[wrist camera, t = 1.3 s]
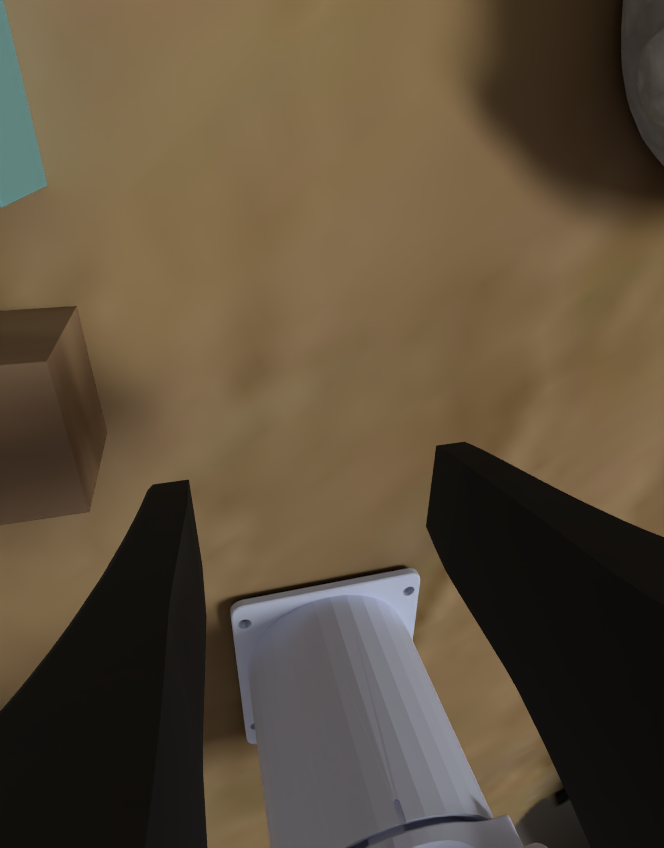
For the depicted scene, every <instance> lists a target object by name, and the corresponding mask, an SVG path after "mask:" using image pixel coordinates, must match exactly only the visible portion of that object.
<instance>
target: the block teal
mask: <svg viewBox="0 0 664 848" xmlns="http://www.w3.org/2000/svg"><path fill="white" fill-rule="evenodd" d="M45 186H47V182H46V177H45V173H44V169H43V165H42V161H41V156H40V152H39V148H38V144H37V140H36V135H35V131H34V127H33V123H32V119H31V114H30V110H29V106H28V102H27V98H26V93H25V89H24V85H23V81H22V77H21V72H20V68H19V64H18V60H17V56H16V52H15V47H14V43H13V39H12V35H11V31H10V26H9V22H8V18H7V14H6V10H5V5H4V1H3V0H0V207H4V206H6V205H8V204H10V203H12V202H15V201H17V200H19V199H21V198H23V197H25V196H27V195H29V194H31V193H33V192H35V191H37V190H39V189H41V188H43V187H45Z"/></svg>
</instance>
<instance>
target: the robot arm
mask: <svg viewBox="0 0 664 848" xmlns="http://www.w3.org/2000/svg"><path fill="white" fill-rule="evenodd" d="M426 527H427V530H428V532H429V534H430V537H431V539H432V541H433V544H434V546H435V548H436V551H437V553H438V555H439V557H440V559H441V562H442V564H443V566H444V568H445V570H446V572H447V574H448V575H449V577H450V579H451V580H452V582H453V584H454V585H455V587H456V589H457V590H458V592H459V594H460V595H461V597H462V599H463V600H464V602H465V604H466V605H467V607H468V608H469V610H470V612H471V613H472V615H473V617H474V618H475V620H476V621H477V623H478V625H479V626H480V628H481V629H482V631H483V633H484V634H485V636H486V638H487V639H488V641H489V642H490V644H491V646H492V647H493V649H494V651H495V652H496V654H497V655H498V657H499V659H500V660H501V662H502V663H503V665H504V667H505V668H506V670H507V672H508V674H509V675H510V677H511V679H512V681H513V683H514V684H515V686H516V688H517V690H518V691H519V693H520V695H521V698H522V700H523V702H524V704H525V706H526V708H527V710H528V712H529V714H530V716H531V718H532V720H533V722H534V724H535V726H536V728H537V730H538V732H539V734H540V736H541V738H542V740H543V742H544V744H545V747H546V749H547V751H548V753H549V755H550V757H551V760H552V762H553V764H554V766H555V768H556V770H557V773H558V775H559V777H560V779H561V781H562V783H563V786H564V788H565V790H566V792H567V794H568V796H569V799H570V801H571V803H572V805H573V808H574V810H575V812H576V815H577V817H578V819H579V822H580V824H581V826H582V829H583V831H584V833H585V836H586V838H587V840H588V843H589V845H590V847H591V848H664V537H662V536H659V535H656V534H654V533H651V532H649V531H646V530H644V529H642V528H639V527H637V526H635V525H632V524H630V523H628V522H625V521H623V520H621V519H619V518H617V517H614V516H612V515H610V514H608V513H606V512H604V511H601V510H599V509H597V508H595V507H593V506H591V505H588V504H586V503H584V502H582V501H580V500H578V499H576V498H574V497H572V496H570V495H568V494H566V493H564V492H562V491H560V490H558V489H556V488H554V487H553V486H551V485H549V484H547V483H545V482H543V481H541V480H539V479H537V478H535V477H533V476H531V475H530V474H528V473H526V472H524V471H522V470H520V469H518V468H516V467H514V466H513V465H511V464H509V463H507V462H505V461H503V460H501V459H499V458H497V457H495V456H494V455H492V454H490V453H488V452H486V451H484V450H482V449H480V448H477V447H475V446H473V445H471V444H469V443H466V442H460V443H453V444H445V445H438V446H436V452H435V460H434V468H433V476H432V484H431V492H430V499H429V507H428V515H427V523H426ZM419 585H420V576H419V574H418V573H417V571H416V570H415V569H413V568H406V569H401V570H396V571H391V572H385V573H380V574H375V575H370V576H365V577H359V578H354V579H349V580H344V581H338V582H333V583H328V584H323V585H317V586H312V587H307V588H302V589H296V590H291V591H286V592H281V593H276V594H270V595H265V596H260V597H255V598H249V599H244V600H240V601H237V602H236V603H234V604H233V605H232V607H231V609H230V614H231V622H232V630H233V637H234V645H235V653H236V661H237V668H238V676H239V684H240V692H241V700H242V707H243V715H244V723H245V731H246V738H247V741H248V742H249V743H251V744H257V748H258V755H259V763H260V771H261V778H262V786H263V794H264V801H265V809H266V817H267V824H268V832H269V840H270V847H271V848H547V847H546V846H544V845H542V844H539V843H533V844H530V845H528V846H525V847H524V846H523V844H522V842H521V840H520V838H519V836H518V834H517V832H516V829H515V827H514V825H513V823H512V821H511V819H510V817H509V816H508V815H502V816H499V817H496V818H493V816H492V813H491V811H490V809H489V807H488V805H487V803H486V800H485V798H484V796H483V794H482V792H481V789H480V787H479V785H478V783H477V781H476V778H475V776H474V774H473V772H472V770H471V768H470V765H469V763H468V761H467V759H466V757H465V754H464V752H463V750H462V748H461V746H460V744H459V741H458V739H457V737H456V735H455V733H454V730H453V728H452V726H451V724H450V722H449V719H448V717H447V715H446V713H445V711H444V709H443V706H442V704H441V702H440V700H439V698H438V695H437V693H436V691H435V689H434V687H433V684H432V682H431V680H430V678H429V676H428V674H427V671H426V669H425V667H424V665H423V663H422V660H421V658H420V656H419V654H418V652H417V649H416V647H415V645H414V643H413V641H412V640H413V633H414V625H415V617H416V609H417V601H418V593H419ZM407 587H408V588H407ZM242 620H245V621H242ZM205 647H206V606H205V593H204V581H203V569H202V561H201V554H200V548H199V542H198V535H197V529H196V523H195V516H194V510H193V504H192V497H191V491H190V484H189V480H183V481H176V482H168V483H161V484H154V485H152V486H151V487H150V488H149V490H148V491H147V493H146V495H145V498H144V500H143V502H142V504H141V506H140V509H139V511H138V513H137V515H136V517H135V519H134V521H133V523H132V524H131V526H130V528H129V530H128V532H127V534H126V536H125V538H124V539H123V541H122V543H121V545H120V546H119V548H118V550H117V551H116V553H115V555H114V557H113V558H112V560H111V562H110V563H109V565H108V567H107V569H106V570H105V572H104V574H103V575H102V577H101V578H100V580H99V581H98V583H97V584H96V586H95V587H94V589H93V590H92V592H91V593H90V595H89V596H88V598H87V599H86V601H85V602H84V604H83V605H82V607H81V608H80V610H79V611H78V613H77V614H76V616H75V617H74V619H73V620H72V622H71V623H70V624H69V626H68V627H67V629H66V630H65V631H64V633H63V634H62V635H61V637H60V638H59V640H58V641H57V642H56V644H55V645H54V646H53V647H52V649H51V650H50V651H49V653H48V654H47V655H46V657H45V658H44V659H43V660H42V662H41V663H40V664H39V665H38V667H37V668H36V669H35V671H34V672H33V673H32V674H31V676H30V677H29V678H28V679H27V681H26V682H25V683H24V684H23V685H22V687H21V688H20V689H19V690H18V691H17V692H16V694H15V695H14V696H13V697H12V698H11V699H10V701H9V702H8V703H7V704H6V705H5V706H4V708H3V709H2V710H1V711H0V848H207V834H206V817H205V799H204V782H203V716H204V682H205Z"/></svg>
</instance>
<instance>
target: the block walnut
mask: <svg viewBox="0 0 664 848" xmlns="http://www.w3.org/2000/svg"><path fill="white" fill-rule="evenodd" d="M106 435H107V431H106V427H105V423H104V419H103V415H102V410H101V406H100V402H99V398H98V394H97V390H96V385H95V381H94V377H93V373H92V369H91V365H90V360H89V356H88V352H87V348H86V344H85V340H84V335H83V331H82V327H81V323H80V319H79V315H78V310H77V306H74V307H58V308H42V309H26V310H10V311H0V525H3V524H10V523H17V522H24V521H31V520H38V519H45V518H51V517H58V516H65V515H72V514H79V513H86V512H89V511H90V507H91V502H92V498H93V493H94V489H95V484H96V480H97V475H98V471H99V466H100V462H101V457H102V453H103V448H104V444H105V439H106Z"/></svg>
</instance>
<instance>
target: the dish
mask: <svg viewBox="0 0 664 848" xmlns="http://www.w3.org/2000/svg"><path fill="white" fill-rule="evenodd" d="M621 60H622V72H623V78H624V85H625V91H626V97H627V100H628V103H629V107H630V110H631V113H632V115H633V118H634V120H635V123H636V125H637V127H638V130H639V132H640V134H641V137H642V139H643V140H644V142H645V143H646V145H647V146H648V147H649V149H650V150H651V151H652V153H653V154H654V156H655V157H656V158H657V159H658V160H659V161H660V162H661V163H662V165H663V166H664V0H623V9H622V26H621Z"/></svg>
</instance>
